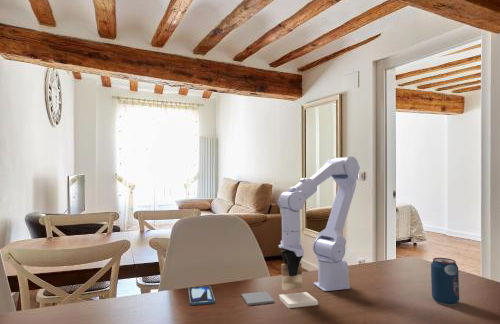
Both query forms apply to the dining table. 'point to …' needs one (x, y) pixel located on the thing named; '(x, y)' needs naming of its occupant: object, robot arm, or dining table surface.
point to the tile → (298, 300)
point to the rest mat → (257, 298)
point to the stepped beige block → (291, 278)
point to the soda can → (445, 281)
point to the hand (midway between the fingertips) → (291, 274)
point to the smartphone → (201, 295)
